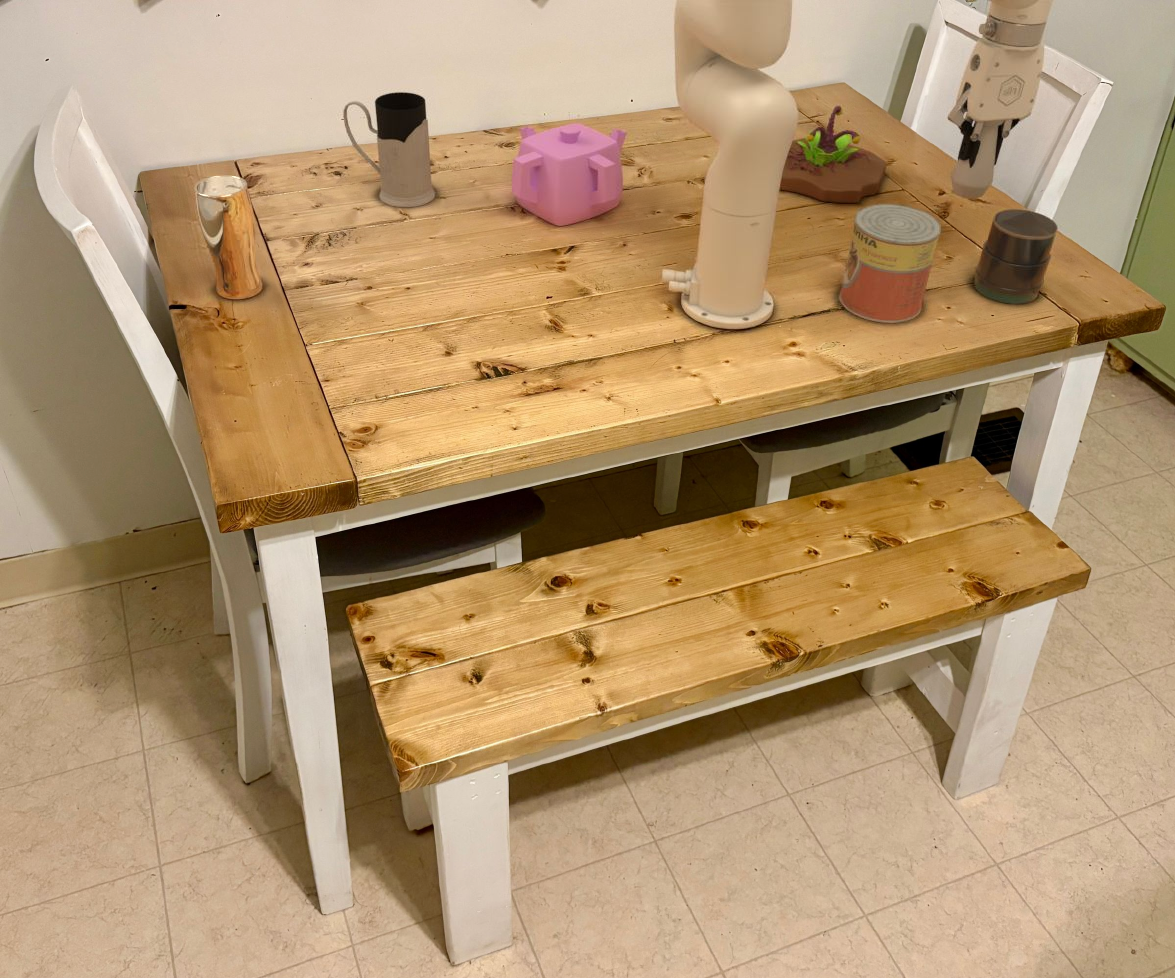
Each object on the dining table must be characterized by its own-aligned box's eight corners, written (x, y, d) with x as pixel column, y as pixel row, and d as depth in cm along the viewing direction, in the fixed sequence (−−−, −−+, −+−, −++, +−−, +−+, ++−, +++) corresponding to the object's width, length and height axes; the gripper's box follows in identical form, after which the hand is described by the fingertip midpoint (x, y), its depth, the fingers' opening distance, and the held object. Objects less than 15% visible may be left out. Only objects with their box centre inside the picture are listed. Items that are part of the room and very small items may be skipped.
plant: (900, 170, 191) (915, 105, 184) (857, 212, 178) (870, 144, 171) (793, 142, 199) (803, 79, 192) (744, 180, 186) (752, 113, 179)
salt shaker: (988, 204, 161) (1015, 114, 153) (948, 198, 162) (972, 109, 154) (986, 187, 166) (1011, 100, 158) (946, 182, 166) (969, 95, 158)
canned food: (834, 280, 161) (849, 202, 153) (912, 283, 161) (931, 205, 153) (845, 321, 152) (861, 240, 145) (928, 324, 152) (949, 244, 145)
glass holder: (420, 211, 174) (413, 115, 164) (338, 195, 177) (327, 101, 167) (444, 188, 180) (439, 95, 171) (364, 174, 183) (355, 82, 174)
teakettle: (509, 225, 171) (508, 147, 163) (520, 178, 184) (519, 103, 176) (621, 231, 171) (625, 153, 163) (623, 183, 184) (628, 109, 176)
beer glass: (239, 306, 150) (219, 202, 140) (202, 291, 153) (180, 187, 143) (276, 285, 155) (260, 182, 145) (240, 271, 157) (221, 169, 148)
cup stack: (975, 301, 158) (994, 234, 151) (968, 269, 165) (986, 204, 158) (1044, 308, 157) (1066, 242, 150) (1034, 276, 164) (1055, 211, 157)
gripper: (978, 43, 144) (942, 179, 156) (1081, 36, 149) (1039, 168, 161) (945, 25, 150) (913, 157, 161) (1046, 19, 155) (1007, 148, 166)
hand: (976, 162), depth 161 cm, fingers closed on salt shaker, 3 cm apart
